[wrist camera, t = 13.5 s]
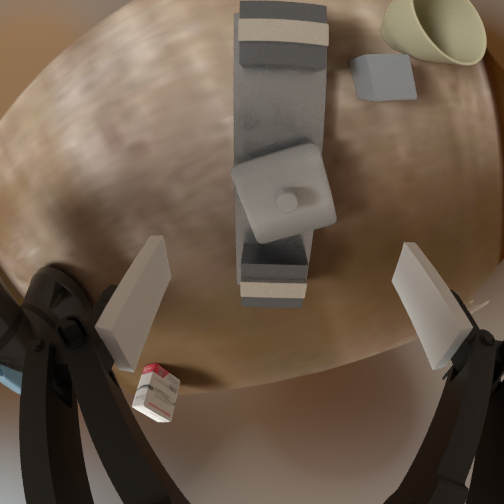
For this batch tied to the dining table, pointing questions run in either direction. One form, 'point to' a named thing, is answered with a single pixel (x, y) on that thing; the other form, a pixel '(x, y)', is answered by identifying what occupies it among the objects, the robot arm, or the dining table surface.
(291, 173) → the grey cover with knob
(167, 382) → the ink box
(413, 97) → the block
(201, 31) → the dining table surface
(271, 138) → the rail
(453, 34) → the mug
